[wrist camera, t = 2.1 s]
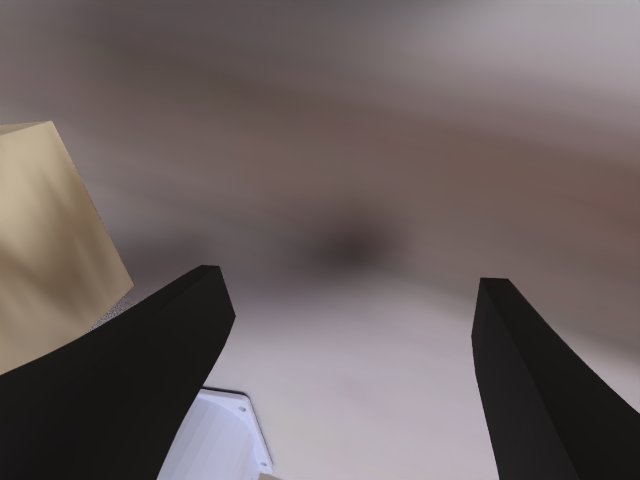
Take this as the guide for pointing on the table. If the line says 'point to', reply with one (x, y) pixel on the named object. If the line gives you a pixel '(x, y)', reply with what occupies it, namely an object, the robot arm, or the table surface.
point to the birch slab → (49, 248)
